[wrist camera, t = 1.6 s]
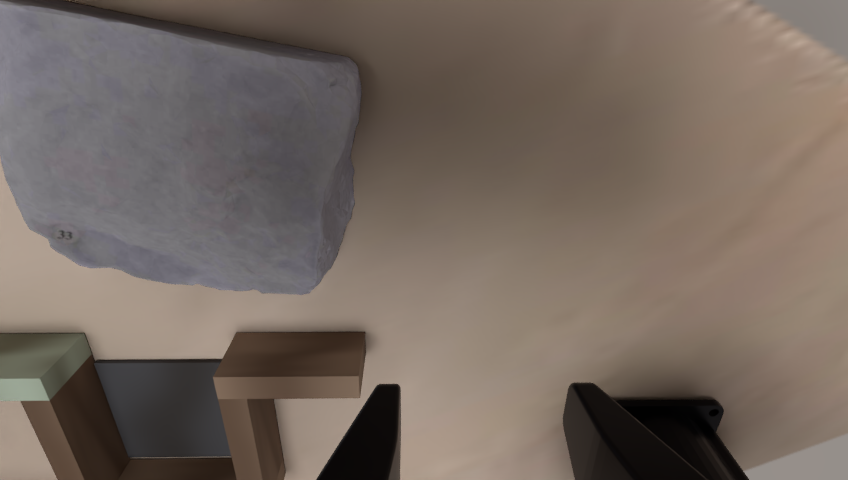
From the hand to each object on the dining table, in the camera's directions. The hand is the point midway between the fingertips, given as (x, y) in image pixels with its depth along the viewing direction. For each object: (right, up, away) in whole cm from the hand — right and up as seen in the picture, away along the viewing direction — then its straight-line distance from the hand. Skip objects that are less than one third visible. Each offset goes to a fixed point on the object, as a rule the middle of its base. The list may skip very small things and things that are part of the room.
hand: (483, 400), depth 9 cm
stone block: (-10, +6, +11) cm, 16 cm away
